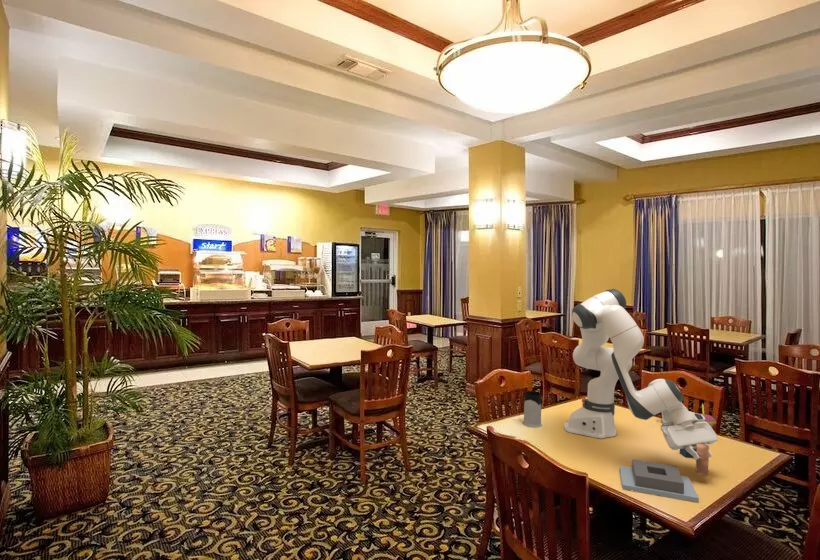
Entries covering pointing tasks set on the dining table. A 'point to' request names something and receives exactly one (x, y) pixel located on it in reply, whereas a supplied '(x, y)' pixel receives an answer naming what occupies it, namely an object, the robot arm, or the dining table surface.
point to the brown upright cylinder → (702, 459)
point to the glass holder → (532, 409)
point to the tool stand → (657, 480)
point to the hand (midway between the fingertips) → (704, 458)
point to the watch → (685, 453)
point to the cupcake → (708, 418)
